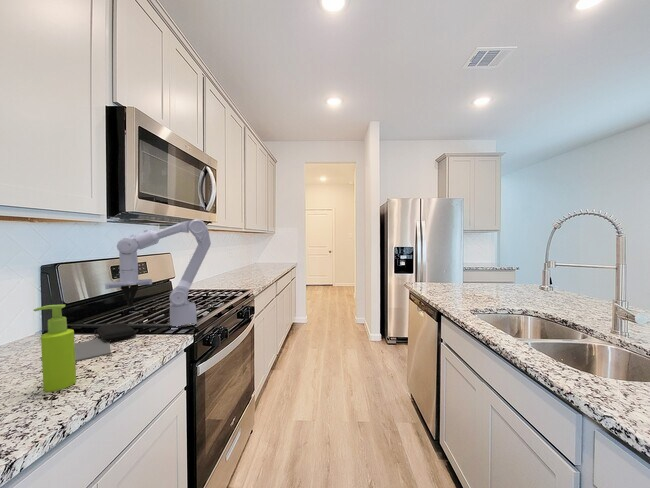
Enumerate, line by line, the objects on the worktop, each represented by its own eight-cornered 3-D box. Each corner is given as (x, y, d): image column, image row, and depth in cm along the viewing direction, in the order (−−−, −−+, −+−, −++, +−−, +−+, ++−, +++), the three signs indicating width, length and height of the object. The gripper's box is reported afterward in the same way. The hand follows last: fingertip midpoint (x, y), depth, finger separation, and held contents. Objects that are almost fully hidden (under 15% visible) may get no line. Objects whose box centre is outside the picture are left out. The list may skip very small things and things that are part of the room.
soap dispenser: (45, 383, 71) (41, 304, 70) (80, 377, 73) (76, 301, 73) (32, 395, 65) (27, 310, 65) (70, 388, 68) (66, 306, 67)
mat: (108, 337, 102) (108, 336, 102) (110, 353, 88) (110, 352, 88) (55, 348, 93) (55, 347, 93) (48, 367, 79) (48, 366, 79)
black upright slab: (100, 335, 94) (91, 326, 104) (100, 344, 94) (91, 334, 104) (137, 329, 102) (126, 321, 112) (137, 337, 102) (125, 329, 112)
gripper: (105, 272, 99) (106, 310, 99) (152, 268, 108) (154, 303, 109) (104, 270, 104) (105, 307, 105) (149, 267, 114) (151, 300, 114)
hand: (130, 305), depth 107 cm, fingers closed
